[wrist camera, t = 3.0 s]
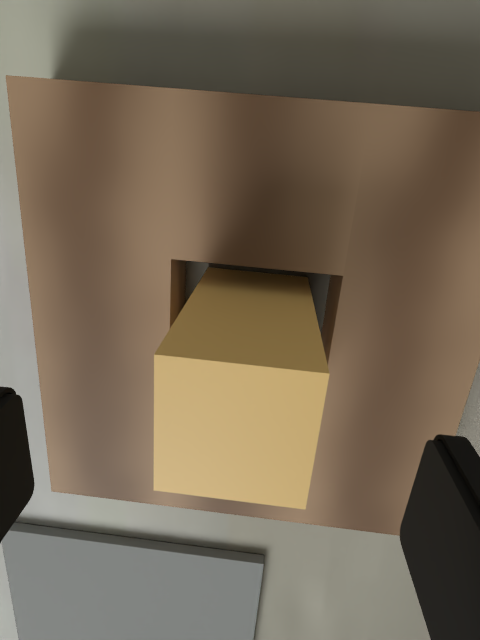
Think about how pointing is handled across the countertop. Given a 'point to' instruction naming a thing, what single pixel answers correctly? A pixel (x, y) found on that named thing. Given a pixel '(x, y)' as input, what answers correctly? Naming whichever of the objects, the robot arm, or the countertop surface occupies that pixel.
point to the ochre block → (240, 391)
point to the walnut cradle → (253, 251)
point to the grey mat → (127, 587)
